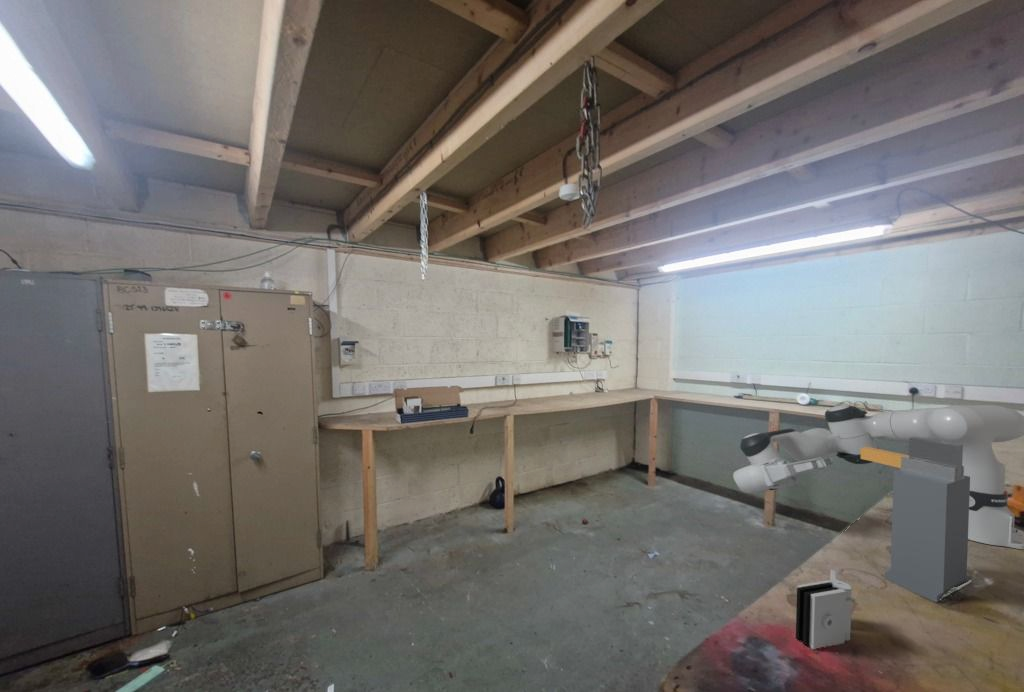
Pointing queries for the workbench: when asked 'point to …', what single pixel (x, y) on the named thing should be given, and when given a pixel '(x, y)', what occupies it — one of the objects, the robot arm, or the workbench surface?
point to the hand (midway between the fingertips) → (823, 462)
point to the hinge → (823, 612)
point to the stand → (929, 528)
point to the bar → (920, 454)
